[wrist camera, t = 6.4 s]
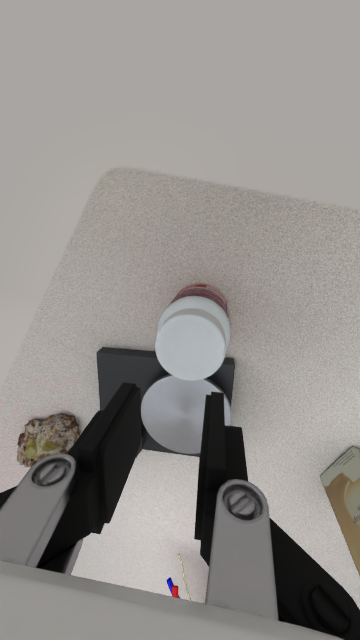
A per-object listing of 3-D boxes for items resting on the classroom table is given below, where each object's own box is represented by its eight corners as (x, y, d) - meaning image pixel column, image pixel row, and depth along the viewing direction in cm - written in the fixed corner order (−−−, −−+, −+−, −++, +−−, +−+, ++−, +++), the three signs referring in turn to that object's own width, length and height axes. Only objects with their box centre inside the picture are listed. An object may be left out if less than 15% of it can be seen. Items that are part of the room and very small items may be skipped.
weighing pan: (142, 444, 31) (141, 447, 31) (141, 367, 29) (140, 370, 28) (227, 455, 30) (227, 459, 30) (235, 376, 27) (235, 379, 27)
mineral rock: (45, 488, 38) (-8, 463, 35) (56, 460, 41) (9, 436, 39) (94, 450, 35) (41, 420, 32) (101, 423, 39) (54, 394, 36)
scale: (107, 437, 36) (96, 457, 33) (102, 346, 33) (89, 358, 29) (225, 453, 34) (225, 475, 31) (234, 358, 30) (235, 372, 27)
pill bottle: (167, 289, 29) (136, 316, 19) (222, 276, 28) (223, 298, 17) (180, 340, 31) (158, 392, 20) (233, 330, 30) (240, 381, 19)
